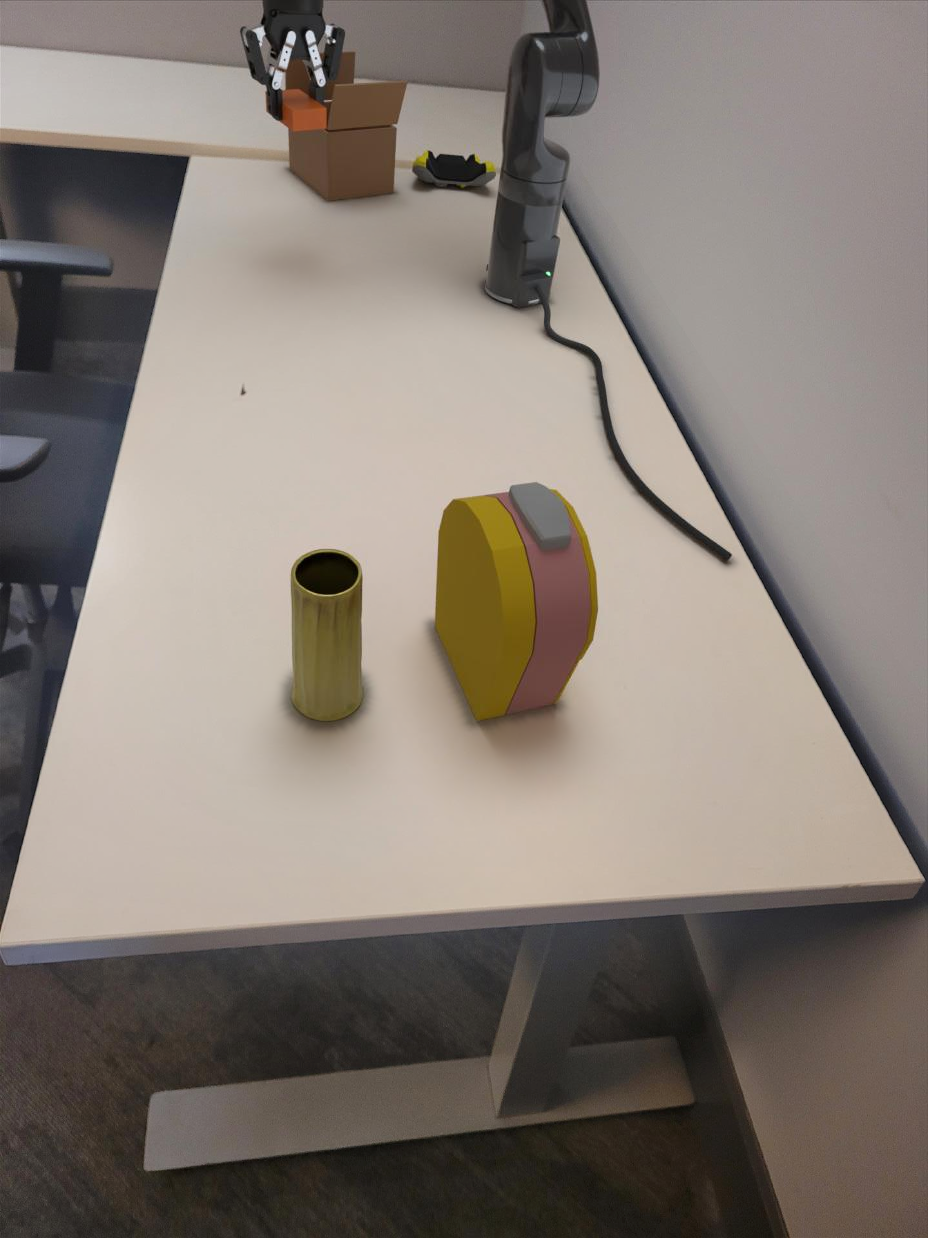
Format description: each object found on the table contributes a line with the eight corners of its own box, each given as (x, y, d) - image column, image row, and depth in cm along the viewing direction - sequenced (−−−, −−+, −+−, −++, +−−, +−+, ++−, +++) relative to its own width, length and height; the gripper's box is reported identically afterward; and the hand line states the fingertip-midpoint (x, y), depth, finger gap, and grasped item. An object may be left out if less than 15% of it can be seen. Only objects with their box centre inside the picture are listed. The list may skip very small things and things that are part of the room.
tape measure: (572, 717, 74) (624, 561, 60) (483, 737, 71) (518, 579, 58) (508, 598, 83) (542, 440, 70) (428, 612, 80) (448, 451, 67)
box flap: (396, 122, 143) (397, 124, 143) (327, 128, 137) (328, 129, 137) (406, 80, 137) (407, 81, 137) (334, 84, 131) (335, 85, 131)
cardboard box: (393, 192, 151) (399, 77, 138) (327, 200, 145) (327, 81, 132) (351, 160, 159) (353, 49, 147) (287, 167, 154) (283, 52, 141)
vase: (362, 665, 75) (366, 544, 65) (365, 721, 71) (370, 601, 61) (291, 667, 74) (285, 543, 64) (290, 723, 70) (283, 601, 60)
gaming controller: (494, 197, 155) (487, 177, 161) (498, 165, 151) (491, 145, 157) (412, 191, 152) (408, 171, 159) (414, 158, 148) (410, 138, 155)
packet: (326, 128, 114) (326, 107, 113) (292, 131, 112) (292, 110, 110) (299, 108, 118) (298, 88, 117) (266, 111, 116) (265, 90, 114)
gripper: (329, -46, 108) (330, 104, 120) (222, -48, 101) (234, 111, 114) (359, -32, 104) (356, 122, 116) (249, -33, 98) (258, 130, 110)
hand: (296, 116), depth 115 cm, fingers closed on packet, 5 cm apart
